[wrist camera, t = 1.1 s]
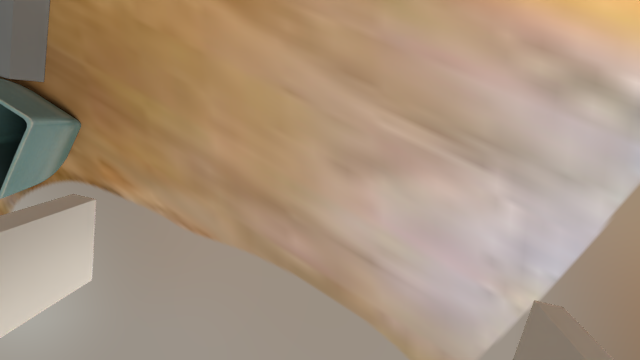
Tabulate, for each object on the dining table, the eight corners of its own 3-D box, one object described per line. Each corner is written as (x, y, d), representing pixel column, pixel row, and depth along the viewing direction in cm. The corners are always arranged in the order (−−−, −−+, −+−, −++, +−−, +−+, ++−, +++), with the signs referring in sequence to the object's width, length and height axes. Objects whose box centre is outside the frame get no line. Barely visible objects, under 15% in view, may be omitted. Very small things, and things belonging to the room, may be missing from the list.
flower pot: (105, 118, 40) (32, 120, 31) (74, 183, 42) (-2, 202, 33) (38, 75, 40) (-53, 64, 31) (11, 141, 42) (-83, 150, 33)
